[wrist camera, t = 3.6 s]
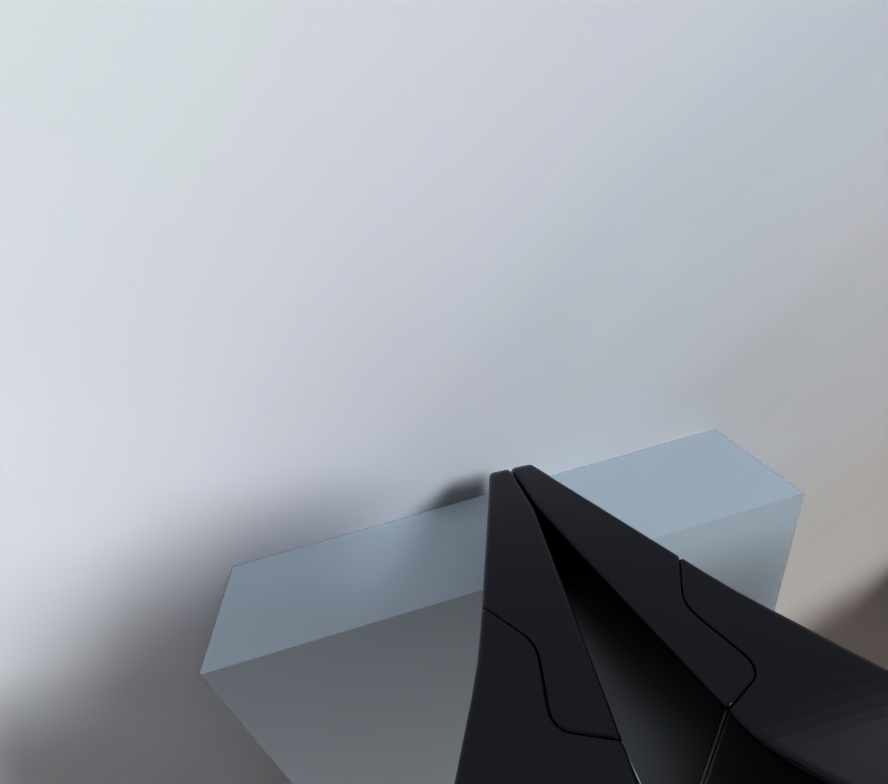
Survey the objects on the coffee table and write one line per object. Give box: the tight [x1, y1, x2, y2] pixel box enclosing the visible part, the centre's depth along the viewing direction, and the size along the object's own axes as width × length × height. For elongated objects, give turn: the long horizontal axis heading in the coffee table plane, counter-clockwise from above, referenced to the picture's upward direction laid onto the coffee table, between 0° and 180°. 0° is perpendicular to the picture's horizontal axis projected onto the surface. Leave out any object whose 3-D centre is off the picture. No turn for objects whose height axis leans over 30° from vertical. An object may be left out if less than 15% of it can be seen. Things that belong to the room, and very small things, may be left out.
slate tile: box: [199, 429, 804, 784], centre depth 14 cm, size 12×18×3 cm, turn 12°
